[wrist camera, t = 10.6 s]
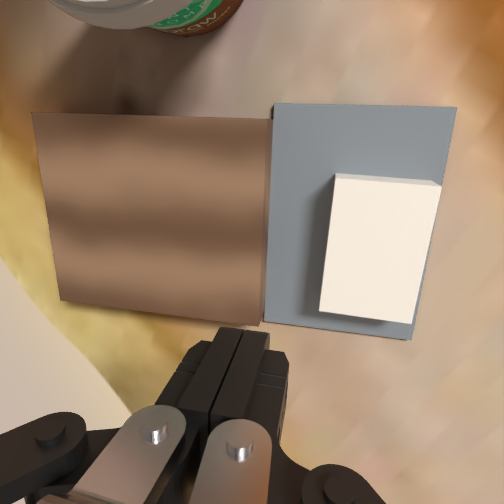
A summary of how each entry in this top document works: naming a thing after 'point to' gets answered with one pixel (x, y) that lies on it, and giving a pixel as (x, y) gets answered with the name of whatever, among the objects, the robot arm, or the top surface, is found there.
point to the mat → (321, 192)
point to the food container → (153, 14)
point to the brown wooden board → (159, 211)
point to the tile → (377, 245)
